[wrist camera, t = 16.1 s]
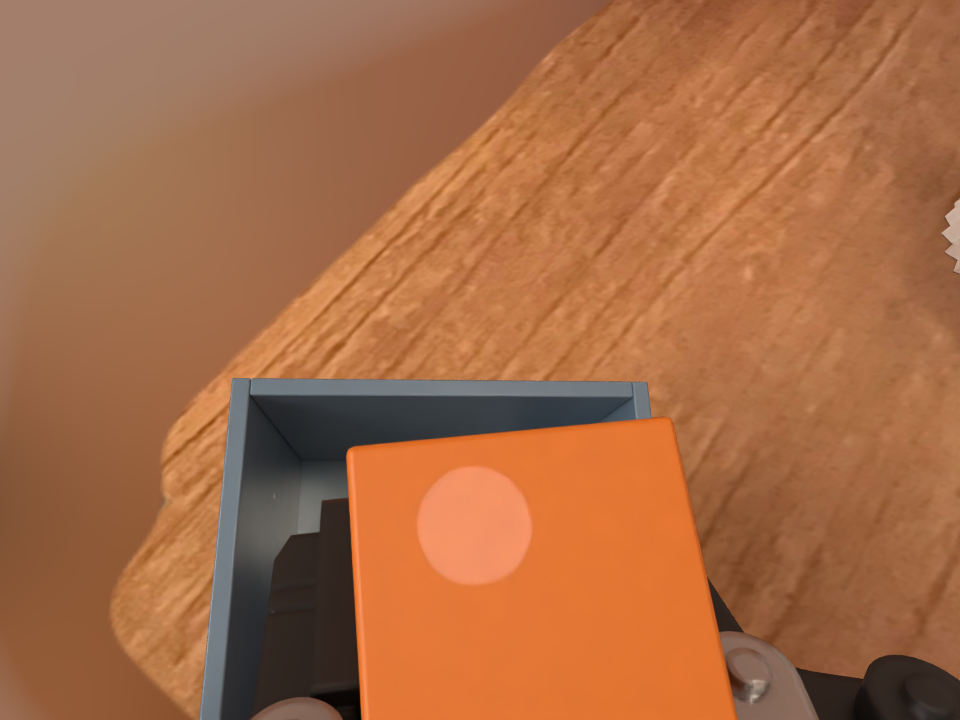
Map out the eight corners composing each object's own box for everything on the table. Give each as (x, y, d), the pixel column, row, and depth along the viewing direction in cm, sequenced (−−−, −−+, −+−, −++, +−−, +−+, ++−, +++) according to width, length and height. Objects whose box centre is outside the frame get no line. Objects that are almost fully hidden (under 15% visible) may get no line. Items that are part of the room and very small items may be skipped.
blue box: (576, 767, 26) (710, 908, 15) (270, 791, 24) (174, 968, 13) (554, 450, 30) (647, 381, 19) (292, 452, 28) (231, 377, 17)
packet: (552, 739, 14) (802, 997, 5) (388, 768, 13) (382, 1110, 5) (519, 500, 16) (675, 413, 7) (370, 517, 15) (344, 444, 6)
